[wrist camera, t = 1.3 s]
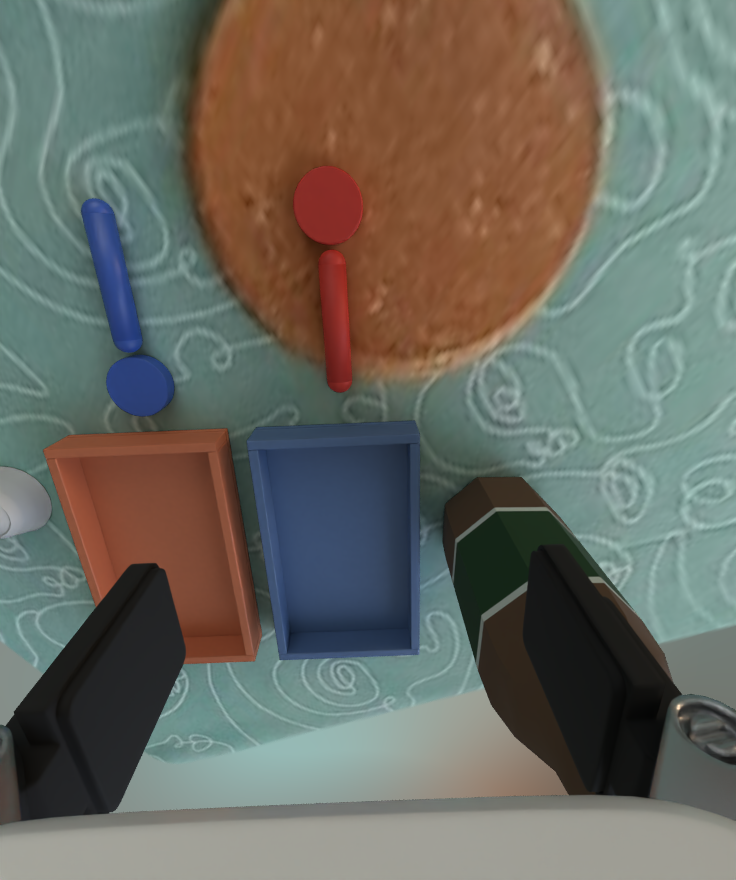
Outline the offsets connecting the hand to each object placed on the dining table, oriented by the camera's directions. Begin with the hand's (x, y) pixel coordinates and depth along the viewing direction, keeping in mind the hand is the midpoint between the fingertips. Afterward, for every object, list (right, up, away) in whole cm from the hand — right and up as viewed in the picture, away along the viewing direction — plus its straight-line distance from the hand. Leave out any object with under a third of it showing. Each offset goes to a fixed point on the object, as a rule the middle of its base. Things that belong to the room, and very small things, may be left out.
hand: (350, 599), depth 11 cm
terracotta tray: (-13, -3, +20) cm, 24 cm away
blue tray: (-1, -3, +20) cm, 20 cm away
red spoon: (-1, +13, +14) cm, 19 cm away
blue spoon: (-13, +11, +14) cm, 23 cm away
